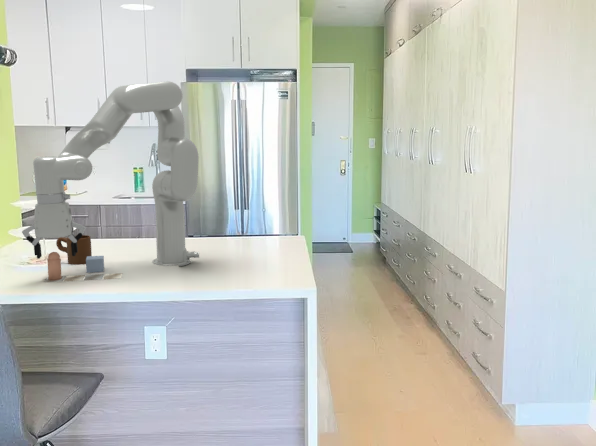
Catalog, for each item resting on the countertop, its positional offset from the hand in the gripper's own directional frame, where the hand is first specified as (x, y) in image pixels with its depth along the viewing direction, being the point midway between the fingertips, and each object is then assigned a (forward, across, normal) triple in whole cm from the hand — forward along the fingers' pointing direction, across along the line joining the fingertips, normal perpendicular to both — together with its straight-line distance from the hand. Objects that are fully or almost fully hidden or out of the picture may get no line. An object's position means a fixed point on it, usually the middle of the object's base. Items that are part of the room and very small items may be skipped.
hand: (56, 256), depth 167 cm
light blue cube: (+8, -9, -8) cm, 15 cm away
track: (+8, -7, 0) cm, 11 cm away
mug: (+8, -1, -22) cm, 24 cm away
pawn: (+7, +1, 0) cm, 7 cm away
